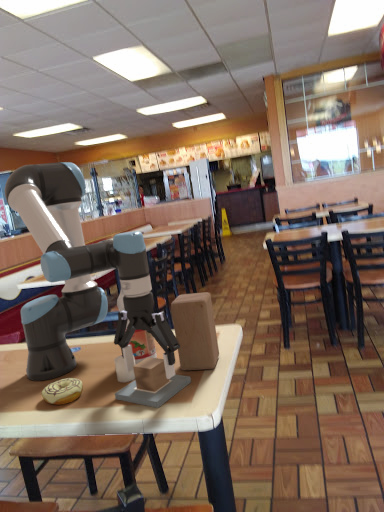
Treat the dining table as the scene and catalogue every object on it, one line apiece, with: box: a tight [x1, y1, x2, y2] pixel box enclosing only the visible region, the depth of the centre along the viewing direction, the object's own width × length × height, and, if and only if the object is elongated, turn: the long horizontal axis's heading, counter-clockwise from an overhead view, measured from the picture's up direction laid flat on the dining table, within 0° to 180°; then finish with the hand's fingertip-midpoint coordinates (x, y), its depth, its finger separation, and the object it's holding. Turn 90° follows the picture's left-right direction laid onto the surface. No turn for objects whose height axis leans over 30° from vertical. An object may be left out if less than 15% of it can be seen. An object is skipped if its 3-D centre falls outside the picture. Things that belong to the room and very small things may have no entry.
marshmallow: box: [113, 354, 135, 383], centre depth 119 cm, size 6×6×6 cm
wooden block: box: [170, 291, 220, 371], centre depth 120 cm, size 10×10×20 cm
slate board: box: [114, 373, 192, 409], centre depth 109 cm, size 14×14×2 cm
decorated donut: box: [41, 377, 84, 406], centre depth 113 cm, size 10×11×4 cm
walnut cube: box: [133, 357, 169, 392], centre depth 108 cm, size 6×6×6 cm
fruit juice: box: [116, 289, 158, 365], centre depth 129 cm, size 9×9×28 cm
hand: (150, 373), depth 108 cm, fingers open, 13 cm apart
